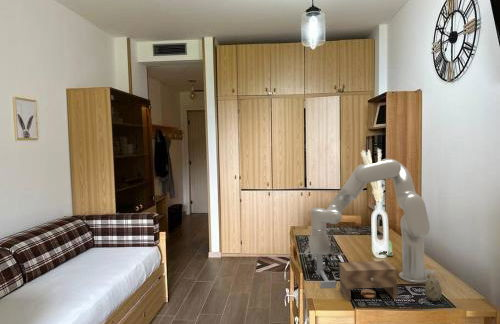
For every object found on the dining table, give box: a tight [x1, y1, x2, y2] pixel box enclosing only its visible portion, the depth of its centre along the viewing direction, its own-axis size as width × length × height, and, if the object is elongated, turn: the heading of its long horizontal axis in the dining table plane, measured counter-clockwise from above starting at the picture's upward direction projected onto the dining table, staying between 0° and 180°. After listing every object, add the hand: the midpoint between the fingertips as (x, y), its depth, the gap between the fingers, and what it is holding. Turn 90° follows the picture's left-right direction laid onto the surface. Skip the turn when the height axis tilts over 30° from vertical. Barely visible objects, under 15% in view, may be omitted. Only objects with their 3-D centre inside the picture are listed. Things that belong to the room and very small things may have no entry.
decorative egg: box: [424, 276, 443, 302], centre depth 130 cm, size 6×6×10 cm
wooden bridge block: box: [339, 260, 398, 301], centre depth 137 cm, size 21×11×12 cm, turn 91°
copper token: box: [360, 288, 377, 299], centre depth 137 cm, size 6×6×2 cm
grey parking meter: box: [314, 255, 337, 289], centre depth 155 cm, size 7×19×12 cm, turn 1°
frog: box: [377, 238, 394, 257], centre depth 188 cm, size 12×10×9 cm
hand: (319, 266), depth 162 cm, fingers open, 6 cm apart
